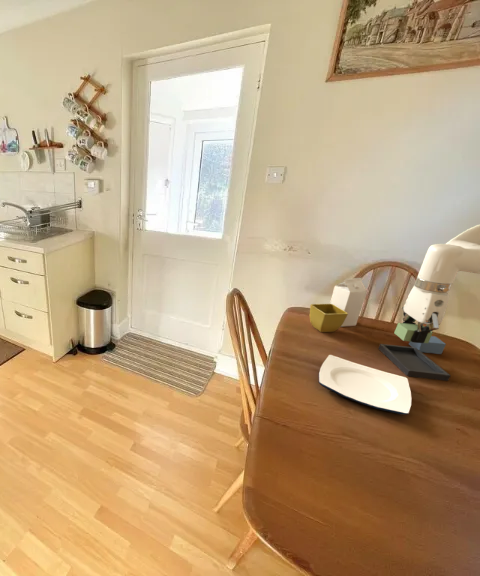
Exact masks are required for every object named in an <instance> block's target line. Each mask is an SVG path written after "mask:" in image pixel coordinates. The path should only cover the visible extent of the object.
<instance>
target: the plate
mask: <svg viewBox="0 0 480 576" xmlns="http://www.w3.org/2000/svg"><path fill="white" fill-rule="evenodd" d="M318 383H319V384H320V386H321V387H323V388H325V389H327V390H329V391H331V392H333V393H335V394H337V395H338V396H340V397H342V398H346V399H348V400H351V401H353V402H355V403H358V404H361V405H365V406H367V407H370V408H373V409H376V410H380V411H384V412H389V413H392V414H397V415H400V416H403V415H404V416H405V415H409V413H410V410H411V406H412V392H411V387H410V383H409V379H408V378H407V377H406V376H403V375H398V374H394V373H390V372H387V371H383V370H380V369H377V368H373V367H370V366H366V365H363V364H360V363H356V362H353V361H350V360H347V359H346V358H345V359H344V358H341V357H338V356H335V355H333V354H328V356H327V357H326V358H325V360H324V361H323V362H322V364H321V366H320V368H319V372H318Z"/></svg>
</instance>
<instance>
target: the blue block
mask: <svg viewBox="0 0 480 576" xmlns="http://www.w3.org/2000/svg"><path fill="white" fill-rule="evenodd" d="M408 345H409V347H416V348H417V349H418V350H419V351H421V352H422V353H427V354H436V355H442V353H444V352H443V351H444V350H445V347H446V345H447V343H445V342H444V341H442V340H441V339H440V338H439V337H437V336H435V335H432V336H431V338H430V340H429V342H428V343H416V342H410V341H408Z"/></svg>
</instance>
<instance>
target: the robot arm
mask: <svg viewBox="0 0 480 576" xmlns="http://www.w3.org/2000/svg"><path fill="white" fill-rule="evenodd" d="M458 272H464V273H465V272H466V273H469V274H470V273H471V274H478V275H480V224H476V225H474V226H472V227H469V228H468V229H466V230H464V231H463V232H461V233H459V234H457V235H456V236H454V237H453V238H451V239H450V240H448V241H447V242H446V243H434V244H431V245H430V246H429V247H428V249H427V251H426V253H425V256H424V258H423V261H422V263H421V266H420V269H419V272H418V274H417V277H416V279H415V282H414V285H413V286H412V289H411V290H410V292H409V294H408V296H407V299H406V300H405V303H404V305H403V306H402V308H401V309H402V312H403V317H402V323H406V324H417V325H418V327H417V330H415V331H414V334H413V336H412V338H411V341H412V342H416V343H424V342H425V339H426V337H427V335H428V333H430V332H431V331H432V332H433V331H436V330H439V329H440V327H439V326H440V325H442V323H443V320H444V318H445V315H446V311H447V309H448V305H449V301H450V294H449V293H450V291H451V289H452V286H453V284H454V282H455V279H456V277H457V274H458ZM416 321H417V323H416ZM424 325H425V326H424ZM423 326H424V327H423Z"/></svg>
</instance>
